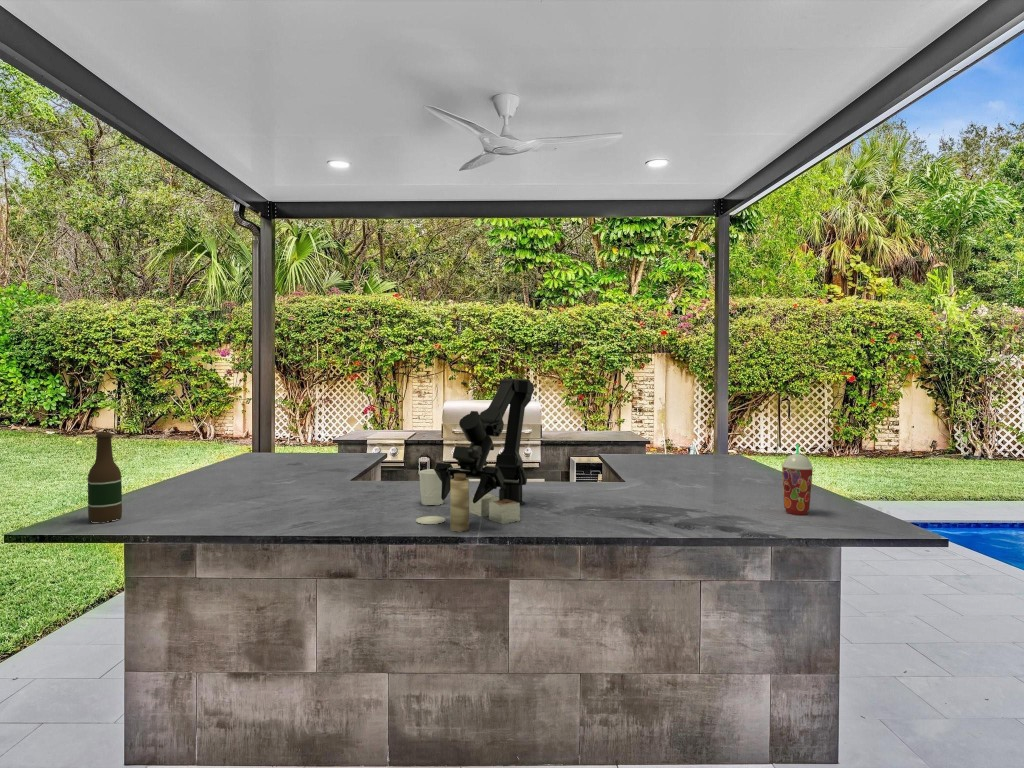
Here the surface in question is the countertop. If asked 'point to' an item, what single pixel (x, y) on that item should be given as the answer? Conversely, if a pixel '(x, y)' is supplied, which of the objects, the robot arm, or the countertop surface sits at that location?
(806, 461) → the smoothie
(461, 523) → the pepper mill
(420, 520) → the coaster
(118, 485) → the beer bottle
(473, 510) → the spice tin
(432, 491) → the white cup
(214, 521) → the countertop surface
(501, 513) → the spice tin
